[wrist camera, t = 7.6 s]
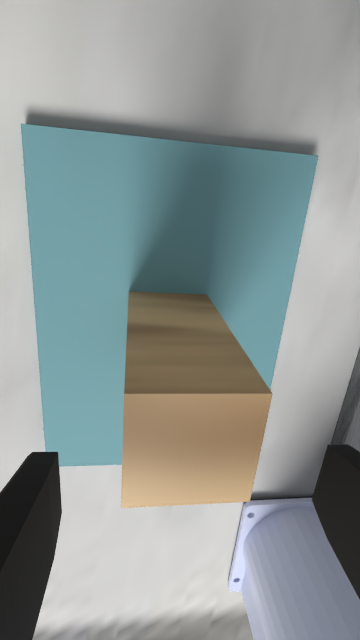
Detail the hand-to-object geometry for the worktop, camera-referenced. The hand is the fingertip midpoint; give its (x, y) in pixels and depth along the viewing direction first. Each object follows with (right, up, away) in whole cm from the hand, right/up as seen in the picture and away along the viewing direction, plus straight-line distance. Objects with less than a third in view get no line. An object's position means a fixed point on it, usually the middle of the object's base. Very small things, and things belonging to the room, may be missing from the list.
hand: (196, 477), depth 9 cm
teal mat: (-1, +4, +10) cm, 10 cm away
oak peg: (-1, +4, +9) cm, 10 cm away
